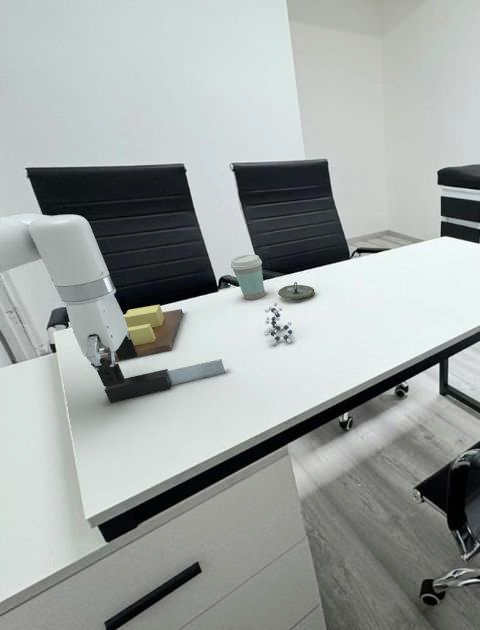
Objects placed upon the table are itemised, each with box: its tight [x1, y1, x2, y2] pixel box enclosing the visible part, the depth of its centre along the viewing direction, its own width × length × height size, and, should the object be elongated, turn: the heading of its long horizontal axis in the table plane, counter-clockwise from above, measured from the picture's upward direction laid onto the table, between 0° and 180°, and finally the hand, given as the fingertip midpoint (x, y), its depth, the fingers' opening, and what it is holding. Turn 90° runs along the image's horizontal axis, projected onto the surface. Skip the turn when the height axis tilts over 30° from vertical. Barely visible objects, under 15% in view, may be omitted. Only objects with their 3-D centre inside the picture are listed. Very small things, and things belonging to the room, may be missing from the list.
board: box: [101, 308, 184, 363], centre depth 97 cm, size 14×22×2 cm, turn 22°
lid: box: [277, 281, 315, 300], centre depth 115 cm, size 11×10×5 cm
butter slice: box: [128, 324, 156, 346], centre depth 90 cm, size 7×2×4 cm, turn 112°
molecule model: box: [264, 302, 293, 346], centre depth 93 cm, size 6×12×8 cm, turn 31°
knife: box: [104, 358, 226, 404], centre depth 77 cm, size 20×3×3 cm, turn 112°
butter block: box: [124, 304, 164, 328], centre depth 99 cm, size 7×5×4 cm
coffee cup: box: [230, 254, 265, 301], centre depth 116 cm, size 8×8×12 cm
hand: (122, 370), depth 75 cm, fingers open, 9 cm apart
